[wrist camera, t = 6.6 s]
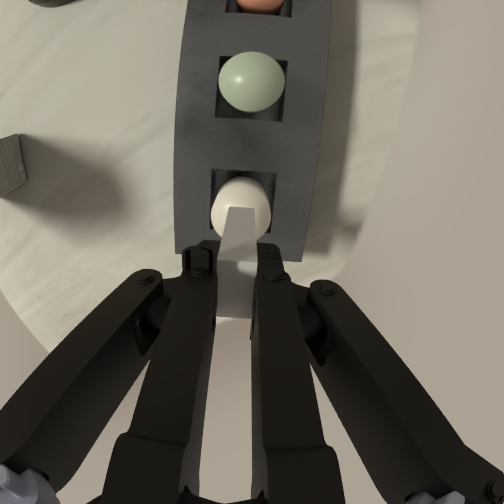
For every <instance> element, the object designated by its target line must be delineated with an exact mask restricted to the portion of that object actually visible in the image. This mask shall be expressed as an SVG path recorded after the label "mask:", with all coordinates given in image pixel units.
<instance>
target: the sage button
mask: <svg viewBox="0 0 504 504" xmlns="http://www.w3.org/2000/svg"><path fill="white" fill-rule="evenodd" d="M284 84H285V78H284V74H283V71H282V69H281V67H280V65H279V64H278V63H277V62H276V61H275V60H274V59H273V58H271V57H270V56H268V55H266V54H263V53H259V52H244V53H240V54H238V55H235V56H234V57H232V58H231V59H229V60H228V61H227V62H226V63H225V64H224V66H223V67H222V69H221V71H220V74H219V88H220V91H221V93H222V95H223V97H224V98H225V99H226V100H227V101H228V102H229V103H230V104H231V105H232V106H233V107H234V108H236V109H238V110H240V111H242V112H247V113H255V112H260V111H263V110H265V109H267V108H268V107H270V106H271V105H272V104H273V103H274V102H276V101H277V100H278V98H279V97H280V96H281V94H282V92H283V89H284Z"/></svg>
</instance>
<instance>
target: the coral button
mask: <svg viewBox="0 0 504 504" xmlns="http://www.w3.org/2000/svg"><path fill="white" fill-rule="evenodd" d="M284 1H285V0H236V5H237V6H238V8H239V9H240V10H241V11H242V12H243V13H250V14H264V15H274V14H276V13H277V12H279V11H280V10H281V8H282V7H283V4H284Z"/></svg>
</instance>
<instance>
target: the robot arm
mask: <svg viewBox="0 0 504 504" xmlns="http://www.w3.org/2000/svg"><path fill="white" fill-rule="evenodd" d="M28 1H30V2H31V3H33V4H36V5H39V6H42V7H56V6H60V5H63V4H65V3H68V2H70V1H72V0H28ZM182 268H183V271H182V273H181V276H178V277H175V278H168V279H163V278H162V274H161V273H160V272H159V271H157V270H154V269H142V270H139V271H136V272H135V273H133V274H131V275H130V276H129V277H128V278H127V279H126V280H125V281H124V282H123V283H122V284H120V285H119V286H118V287H117V288H116V289H115V290H114V291H113V292H112V293H111V294H110V295H108V296H107V297H106V298H105V299H104V300H103V301H102V302H101V303H100V304H99V305H98V306H97V307H96V308H95V309H94V310H93V311H92V312H91V313H90V314H89V315H87V316H86V317H85V318H84V319H83V320H82V321H81V322H80V323H79V324H78V325H77V326H76V327H75V328H74V329H73V330H72V331H71V332H70V333H69V334H68V335H67V336H66V337H65V338H64V339H63V340H62V342H61V343H60V344H59V345H58V346H57V347H56V348H55V349H54V350H53V351H52V352H51V353H50V354H49V355H48V356H47V357H46V359H45V360H43V362H42V363H41V364H40V365H39V366H38V367H37V368H36V369H35V370H34V371H33V373H32V374H31V375H30V376H29V377H28V378H27V379H26V380H25V382H24V383H23V384H22V385H21V386H20V387H19V389H18V390H17V391H16V392H15V393H14V394H13V396H12V397H11V398H10V399H9V400H8V402H7V403H6V404H5V405H4V406H3V408H2V409H1V410H0V504H60V501H59V500H58V498H57V497H56V493H57V492H58V491H60V490H61V489H62V488H63V487H64V486H65V485H66V484H67V483H68V482H69V481H70V480H71V478H72V477H73V476H74V474H75V473H76V471H77V470H78V469H79V467H80V465H81V464H82V462H83V461H84V459H85V457H86V456H87V454H88V452H89V451H90V449H91V448H92V446H93V445H94V443H95V442H96V440H97V438H98V437H99V435H100V434H101V432H102V431H103V429H104V428H105V426H106V424H107V423H108V421H109V420H110V418H111V417H112V415H113V414H114V412H115V411H116V409H117V408H118V406H119V405H120V403H121V401H122V400H123V399H124V397H125V396H126V394H127V392H128V391H129V390H130V388H131V387H132V385H133V384H134V382H135V380H136V379H137V378H138V376H139V375H140V373H141V372H142V370H143V369H144V367H145V366H146V364H147V363H148V361H149V360H150V362H149V365H148V368H147V371H146V374H145V378H144V381H143V384H142V387H141V391H140V394H139V397H138V401H137V404H136V407H135V411H134V414H133V418H132V421H131V425H130V427H129V430H128V431H127V432H126V433H122V434H120V435H119V437H118V438H117V440H116V442H115V445H114V448H113V451H112V455H111V459H110V463H109V466H108V471H107V474H106V479H105V483H104V487H103V492H102V495H100V496H98V497H96V498H95V499H93V500H92V501H90V502H88V503H87V504H223V503H218V502H214V501H211V500H208V499H205V498H202V497H199V467H200V456H201V447H202V437H203V427H204V418H205V409H206V400H207V391H208V381H209V374H210V366H211V358H212V350H213V342H214V335H215V328H216V316H219V317H234V318H250V319H251V318H252V324H251V333H250V340H251V375H252V376H251V379H252V486H251V499H250V500H245V501H239V502H234V503H227V504H346V503H345V497H344V491H343V486H342V479H341V474H340V468H339V462H338V459H337V455H336V452H335V451H334V449H333V448H332V447H330V446H328V445H327V444H326V442H325V440H324V435H323V430H322V424H321V419H320V414H319V408H318V403H317V398H316V393H315V388H314V383H313V378H312V373H311V368H310V364H311V366H312V368H313V370H314V372H315V374H316V375H317V377H318V379H319V381H320V383H321V385H322V387H323V389H324V390H325V392H326V394H327V396H328V398H329V400H330V402H331V403H332V406H333V407H334V409H335V411H336V413H337V415H338V417H339V419H340V420H341V422H342V424H343V426H344V428H345V430H346V432H347V434H348V436H349V437H350V439H351V441H352V443H353V445H354V447H355V449H356V451H357V452H358V454H359V456H360V458H361V460H362V462H363V464H364V466H365V467H366V469H367V471H368V473H369V475H370V477H371V479H372V480H373V482H374V484H375V486H376V488H377V489H378V491H379V493H380V494H381V496H382V497H383V499H384V500H385V501H386V502H387V504H503V502H504V473H503V472H502V471H500V470H499V469H497V468H496V467H495V466H493V465H492V464H490V463H489V462H488V461H486V460H485V459H483V458H482V457H481V456H479V455H478V454H477V453H475V452H474V451H473V450H471V449H470V448H468V447H467V446H466V445H464V443H463V442H462V440H461V439H460V437H459V436H458V434H457V433H456V431H455V430H454V429H453V427H452V426H451V424H450V423H449V422H448V420H447V419H446V417H445V416H444V415H443V414H442V412H441V411H440V409H439V408H438V406H437V405H436V404H435V402H434V401H433V400H432V398H431V397H430V396H429V394H428V393H427V392H426V390H425V389H424V388H423V386H422V385H421V384H420V382H419V381H418V380H417V379H416V378H415V376H414V375H413V373H412V372H411V371H410V370H409V368H408V367H407V366H406V365H405V363H404V362H403V361H402V359H401V358H400V357H399V356H398V354H397V353H396V352H395V351H394V349H393V348H392V347H391V346H390V345H389V343H388V342H387V341H386V340H385V338H384V337H383V336H382V335H381V333H380V332H379V331H378V330H377V329H376V327H375V326H374V325H373V324H372V323H371V322H370V320H369V319H368V318H367V317H366V315H365V314H364V313H363V312H362V311H361V310H360V308H359V307H358V306H357V305H356V304H355V302H354V301H353V300H352V299H351V298H350V297H349V296H348V294H347V293H346V292H345V291H344V290H343V289H342V288H341V287H340V286H339V285H338V284H336V283H334V282H332V281H330V280H315V281H313V282H312V283H311V284H310V288H308V287H304V286H300V285H297V284H295V283H293V282H291V278H290V276H289V274H288V273H286V272H285V271H284V266H283V262H282V257H281V253H280V248H279V247H277V246H276V245H275V244H273V243H258V242H256V227H255V210H254V208H245V207H230V206H229V208H228V213H227V217H226V222H225V226H224V231H223V235H222V240H221V241H217V240H203V241H201V242H200V243H198V245H194V246H189V247H187V248H185V249H184V250H183V251H182ZM150 358H151V359H150ZM309 362H310V363H309Z"/></svg>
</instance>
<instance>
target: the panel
mask: <svg viewBox="0 0 504 504" xmlns="http://www.w3.org/2000/svg"><path fill="white" fill-rule="evenodd" d="M330 10H331V0H285V1H284V4H283V7H282V8H281V10H280V11H279V12H277V13H276V14H274V15H264V14H250V13H243V12H242V11H241V10H240V9H239V8H238V6H237V5H236V0H188V4H187V10H186V16H185V23H184V30H183V37H182V45H181V53H180V63H179V73H178V84H177V97H176V112H175V133H174V233H175V254H182V251H183V250H184V249H185V248H187V247H189V246H194V245H198V243H200V242H201V241H203V240H217V241H221V240H222V237H221V236H220V235H219V234H218V233H217V232H216V231H215V229H214V227H213V225H212V221H211V210H212V207H213V204H214V202H215V199H216V197H217V195H218V192H219V190H220V188H221V187H222V186H223V184H224V183H226V182H227V181H228V180H230V179H233V178H236V177H249V178H252V179H254V180H256V181H257V182H259V183H260V184H261V185H262V186H263V188H264V189H265V191H266V194H267V198H268V202H269V207H270V211H271V221H270V225H269V227H268V229H267V231H266V232H265V233H264V235H263V236H261V237H260V238H259V239H257V240H256V242H258V243H273V244H275V245H276V246H277V247H279V248H280V253H281V257H282V261H292V262H301V261H302V256H303V250H304V245H305V239H306V233H307V227H308V221H309V215H310V209H311V202H312V196H313V189H314V182H315V175H316V168H317V161H318V153H319V145H320V137H321V128H322V120H323V110H324V100H325V90H326V78H327V65H328V51H329V34H330ZM244 52H259V53H263V54H266V55H268V56H270V57H271V58H273V59H274V60H275V61H276V62H277V63H278V64H279V65H280V67H281V69H282V71H283V74H284V78H285V84H284V89H283V92H282V94H281V96H280V97H279V98H278V100H277V101H276V102H274V103H273V104H272V105H271V106H270V107H268V108H267V109H265V110H263V111H260V112H255V113H247V112H242V111H240V110H238V109H236V108H234V107H233V106H232V105H231V104H230V103H229V102H228V101H227V100H226V99H225V98H224V97H223V95H222V93H221V91H220V88H219V74H220V71H221V69H222V67H223V66H224V64H225V63H226V62H227V61H228V60H229V59H231V58H232V57H234V56H235V55H238V54H240V53H244Z"/></svg>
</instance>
